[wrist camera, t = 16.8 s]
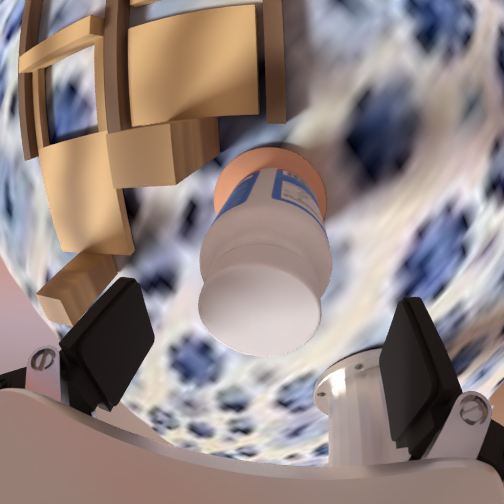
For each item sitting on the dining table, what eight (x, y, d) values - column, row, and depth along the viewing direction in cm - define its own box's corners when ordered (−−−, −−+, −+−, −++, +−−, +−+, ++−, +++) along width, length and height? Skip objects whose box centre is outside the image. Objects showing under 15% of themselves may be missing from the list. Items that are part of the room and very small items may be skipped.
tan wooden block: (256, 8, 11) (232, -45, 5) (261, 153, 16) (239, 183, 10) (134, 30, 13) (63, 11, 6) (141, 159, 17) (74, 193, 11)
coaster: (328, 148, 15) (329, 149, 15) (321, 252, 19) (322, 256, 18) (212, 147, 16) (209, 149, 16) (220, 248, 20) (218, 252, 19)
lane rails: (271, -105, 5) (268, -121, 3) (286, 122, 15) (285, 124, 13) (42, -27, 8) (26, -31, 6) (36, 156, 18) (17, 163, 16)
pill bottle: (238, 250, 19) (197, 366, 11) (223, 171, 16) (149, 249, 8) (321, 244, 18) (337, 366, 9) (315, 161, 15) (343, 234, 7)
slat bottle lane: (110, 20, 12) (40, 4, 6) (141, 275, 22) (98, 333, 16) (39, 56, 13) (-25, 61, 7) (74, 269, 23) (31, 313, 17)
